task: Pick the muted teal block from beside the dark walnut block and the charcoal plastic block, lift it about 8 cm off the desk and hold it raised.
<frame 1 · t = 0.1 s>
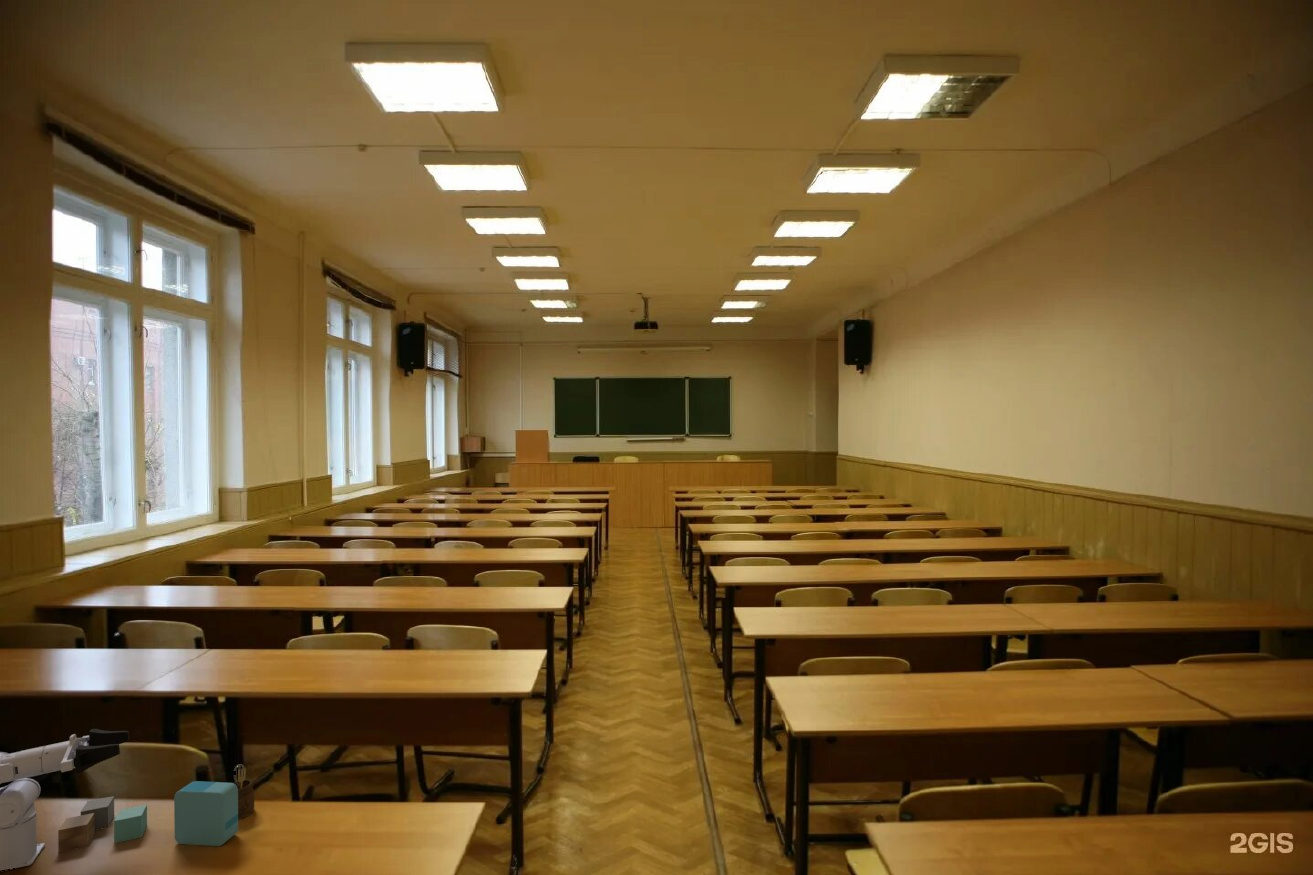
hand: (124, 742, 153), 22 cm above the table, tool horizontal, fingers open, 7 cm apart
teal block: (130, 834, 155), on the table
utensil holder: (240, 814, 163), on the table
charcoal block: (97, 824, 158), on the table
data package: (206, 840, 153), on the table
walnut block: (76, 843, 151), on the table
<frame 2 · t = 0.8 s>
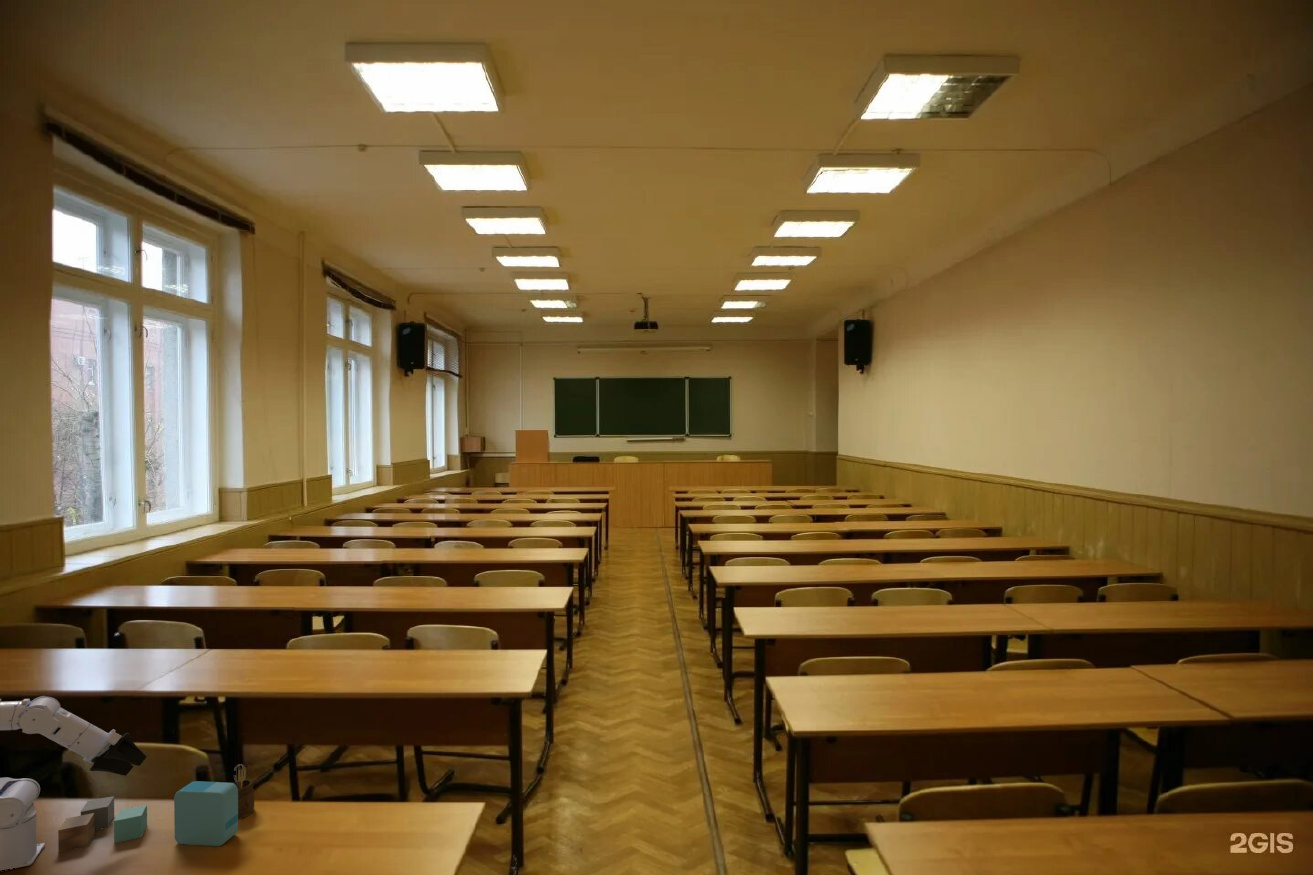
hand: (136, 766, 155), 15 cm above the table, tool tilted 50°, fingers open, 7 cm apart
nothing on the table moved.
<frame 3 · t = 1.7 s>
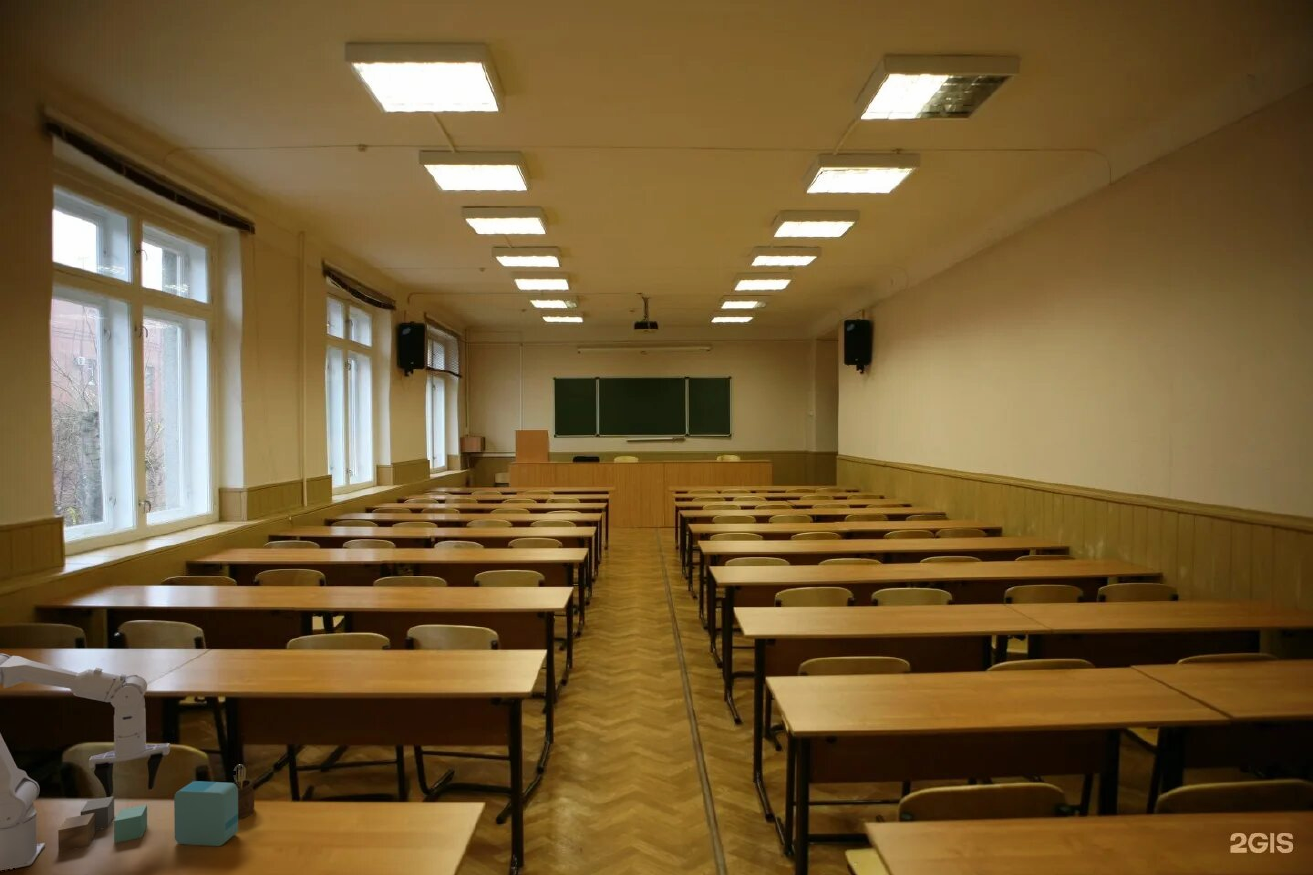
hand: (130, 791, 155), 10 cm above the table, tool pointing down, fingers open, 7 cm apart
nothing on the table moved.
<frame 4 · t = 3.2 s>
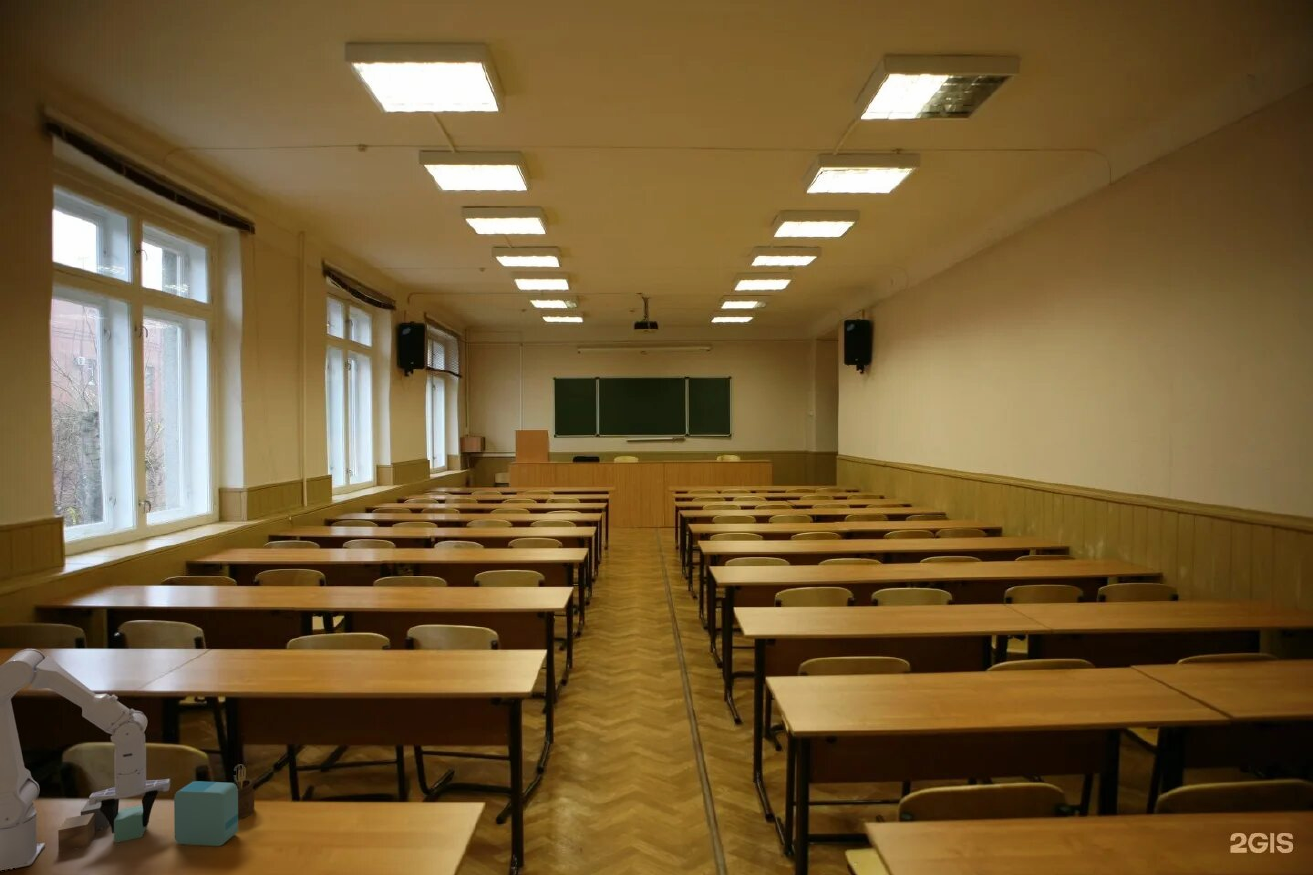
hand: (130, 827, 155), 1 cm above the table, tool pointing down, fingers closed on teal block, 5 cm apart
teal block: (130, 833, 155), on the table, touching gripper
everything else where it was.
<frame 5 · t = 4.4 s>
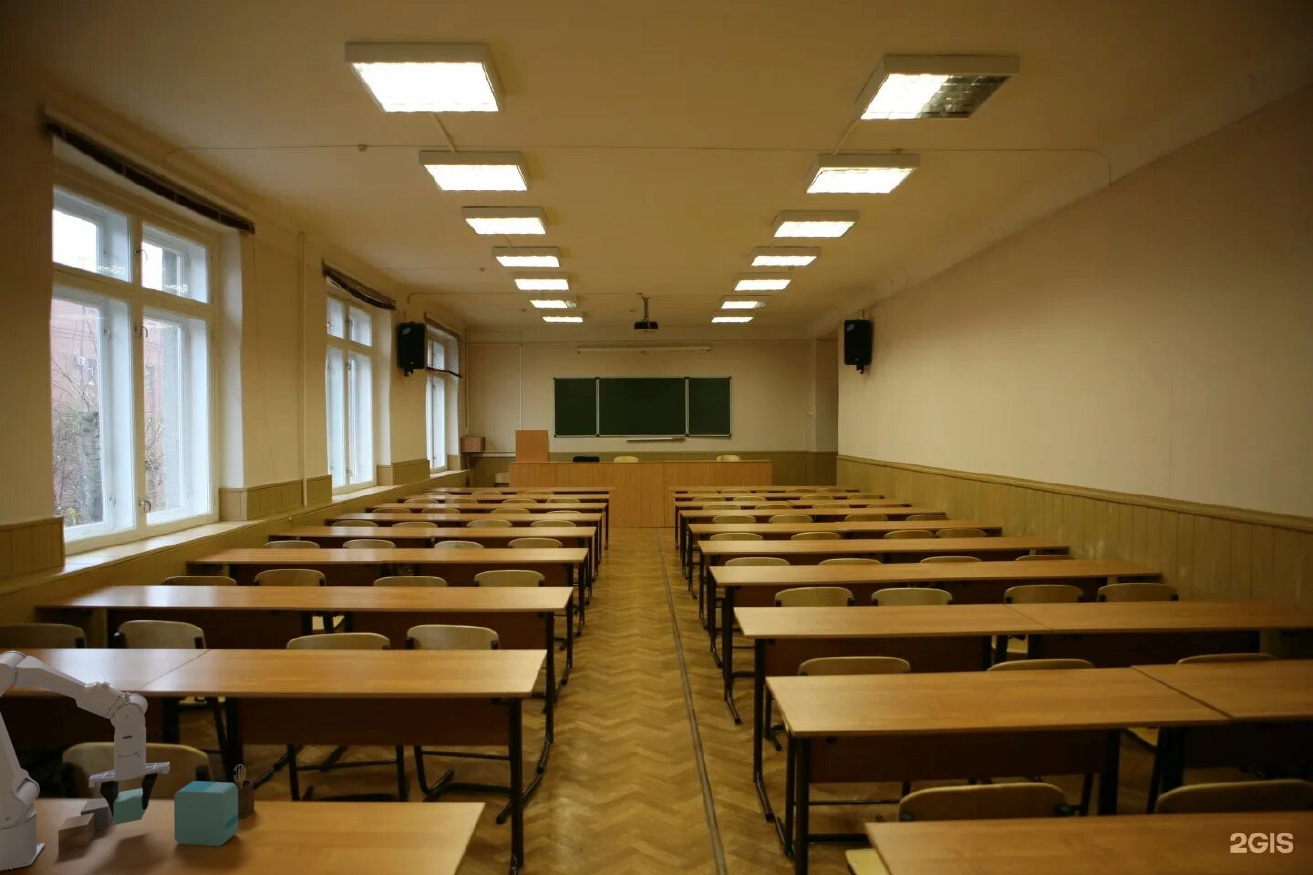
hand: (130, 810, 155), 5 cm above the table, tool pointing down, fingers closed on teal block, 5 cm apart
teal block: (130, 816, 155), point 4 cm above the table, touching gripper
everything else where it was.
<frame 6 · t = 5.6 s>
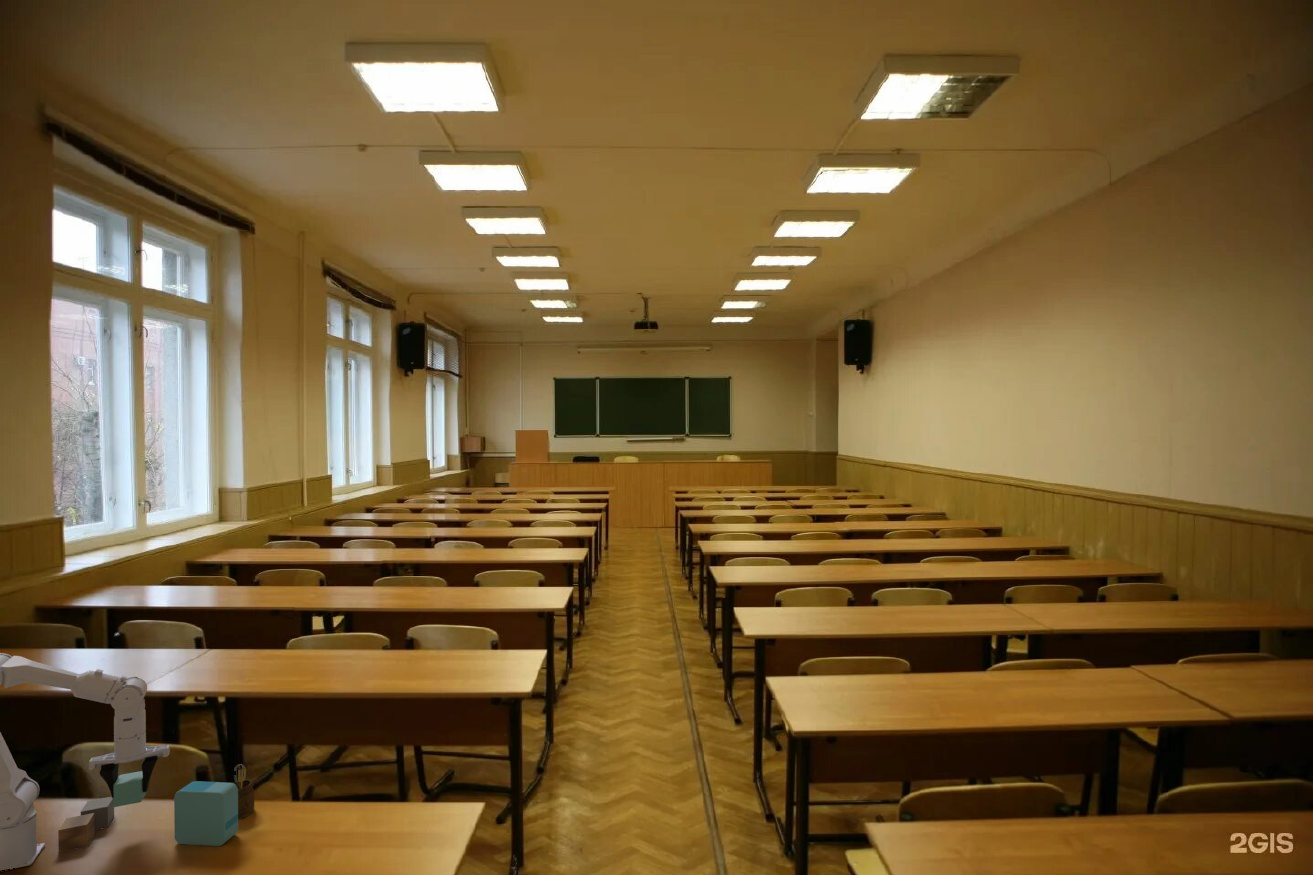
hand: (130, 792, 155), 9 cm above the table, tool pointing down, fingers closed on teal block, 5 cm apart
teal block: (130, 799, 155), point 8 cm above the table, touching gripper
everything else where it was.
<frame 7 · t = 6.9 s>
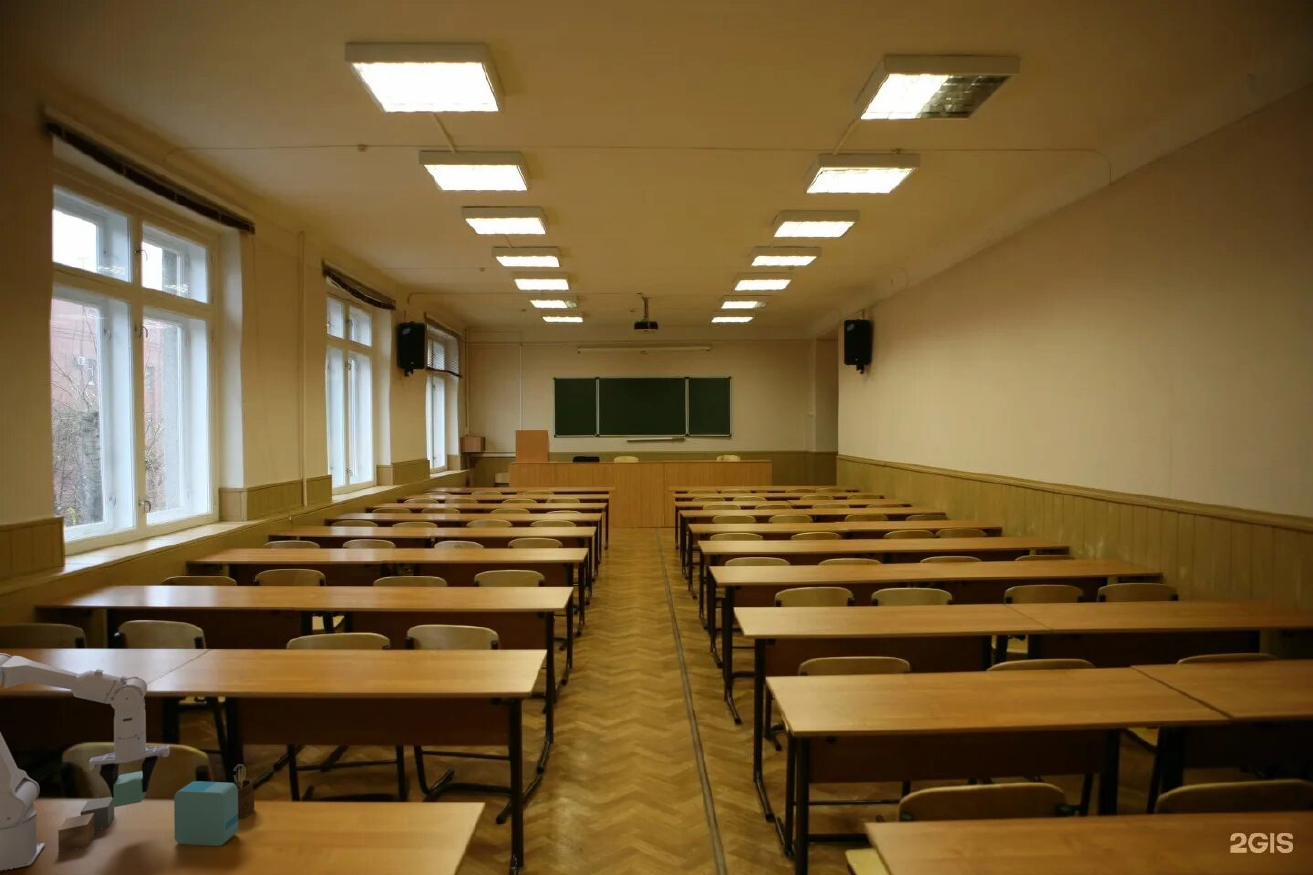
hand: (130, 792, 155), 9 cm above the table, tool pointing down, fingers closed on teal block, 5 cm apart
teal block: (130, 799, 155), point 8 cm above the table, touching gripper
everything else where it was.
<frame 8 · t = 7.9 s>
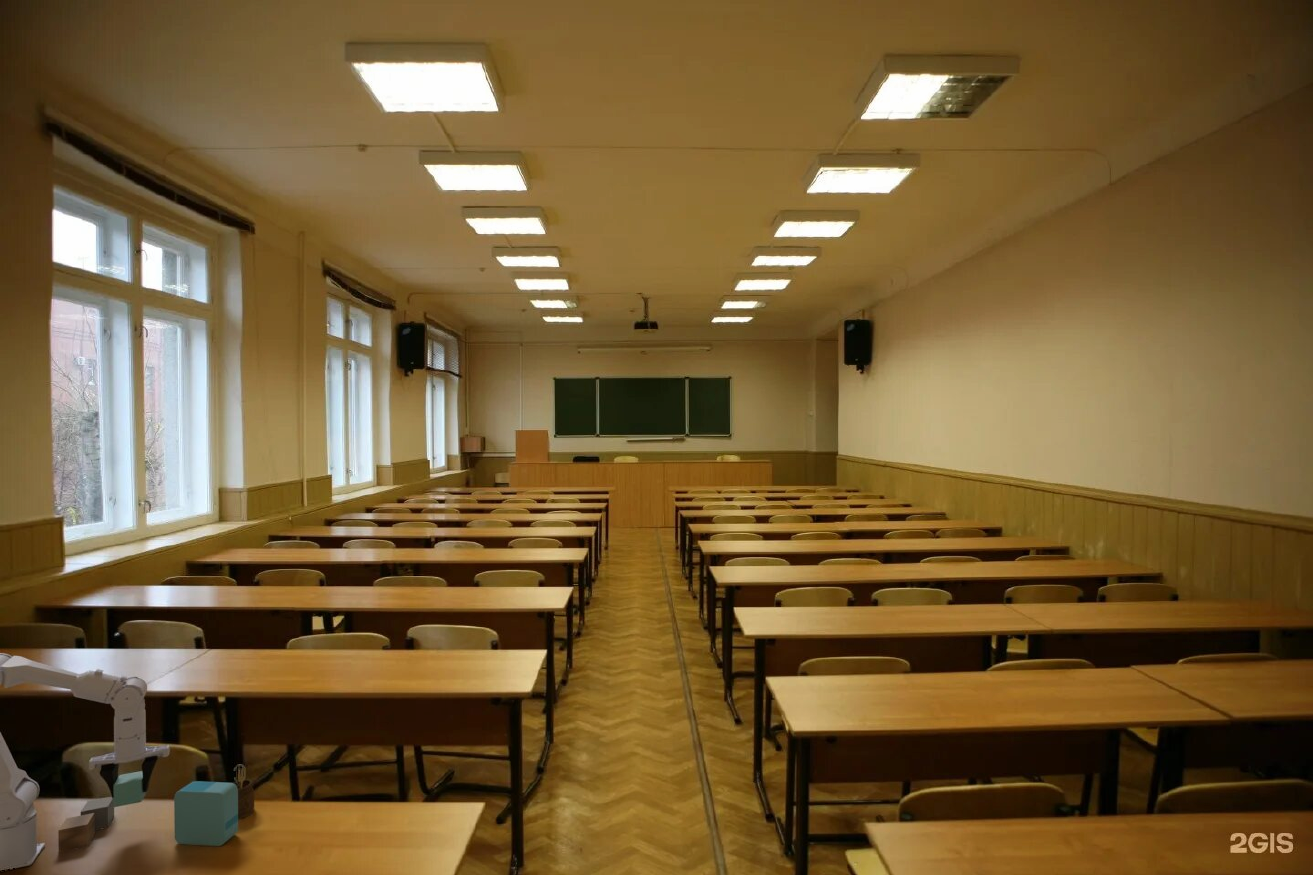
hand: (130, 792, 155), 9 cm above the table, tool pointing down, fingers closed on teal block, 5 cm apart
teal block: (130, 799, 155), point 8 cm above the table, touching gripper
everything else where it was.
at the end: the gripper is holding teal block; teal block point 8.0 cm above the table; walnut block moved 0.1 cm from its start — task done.
